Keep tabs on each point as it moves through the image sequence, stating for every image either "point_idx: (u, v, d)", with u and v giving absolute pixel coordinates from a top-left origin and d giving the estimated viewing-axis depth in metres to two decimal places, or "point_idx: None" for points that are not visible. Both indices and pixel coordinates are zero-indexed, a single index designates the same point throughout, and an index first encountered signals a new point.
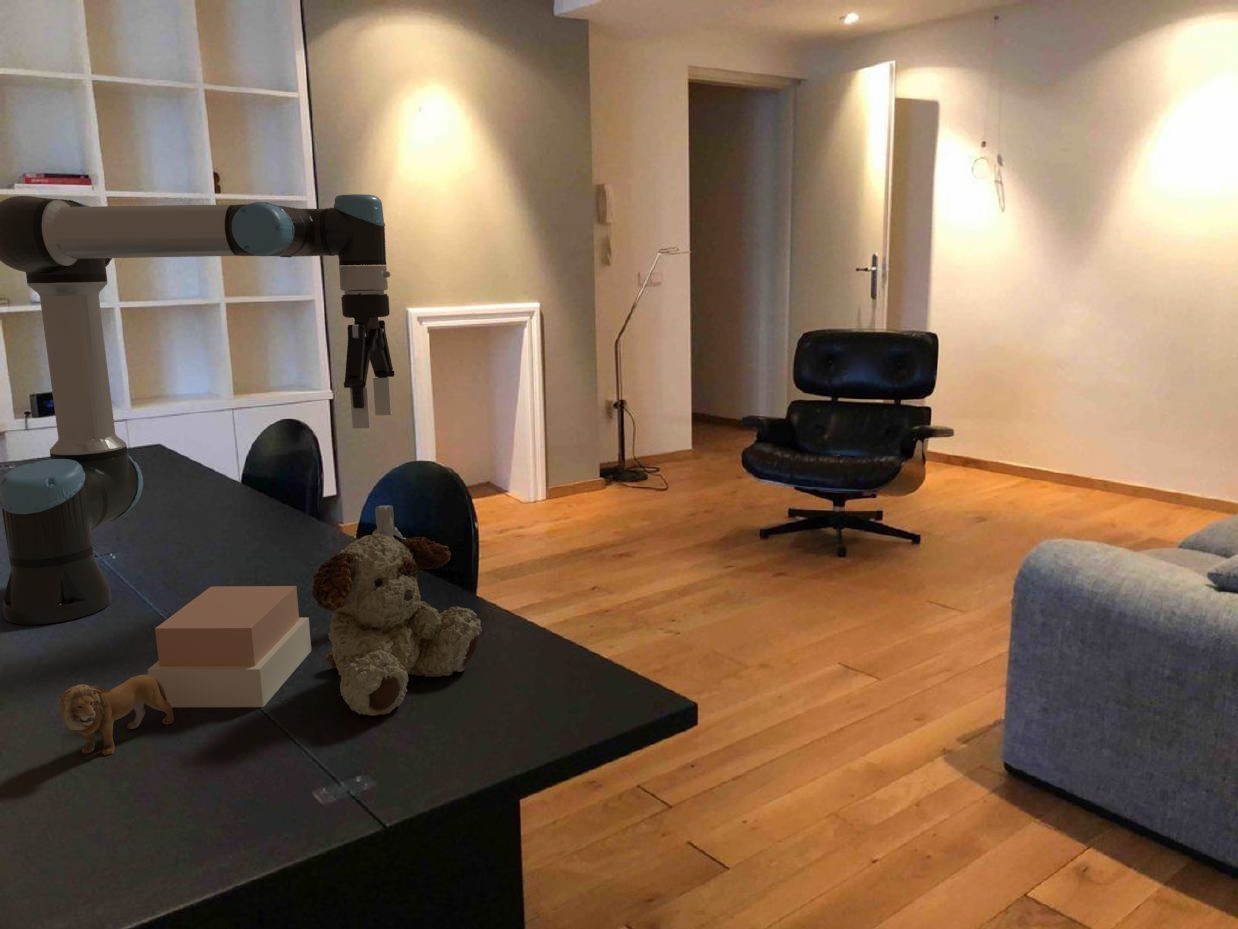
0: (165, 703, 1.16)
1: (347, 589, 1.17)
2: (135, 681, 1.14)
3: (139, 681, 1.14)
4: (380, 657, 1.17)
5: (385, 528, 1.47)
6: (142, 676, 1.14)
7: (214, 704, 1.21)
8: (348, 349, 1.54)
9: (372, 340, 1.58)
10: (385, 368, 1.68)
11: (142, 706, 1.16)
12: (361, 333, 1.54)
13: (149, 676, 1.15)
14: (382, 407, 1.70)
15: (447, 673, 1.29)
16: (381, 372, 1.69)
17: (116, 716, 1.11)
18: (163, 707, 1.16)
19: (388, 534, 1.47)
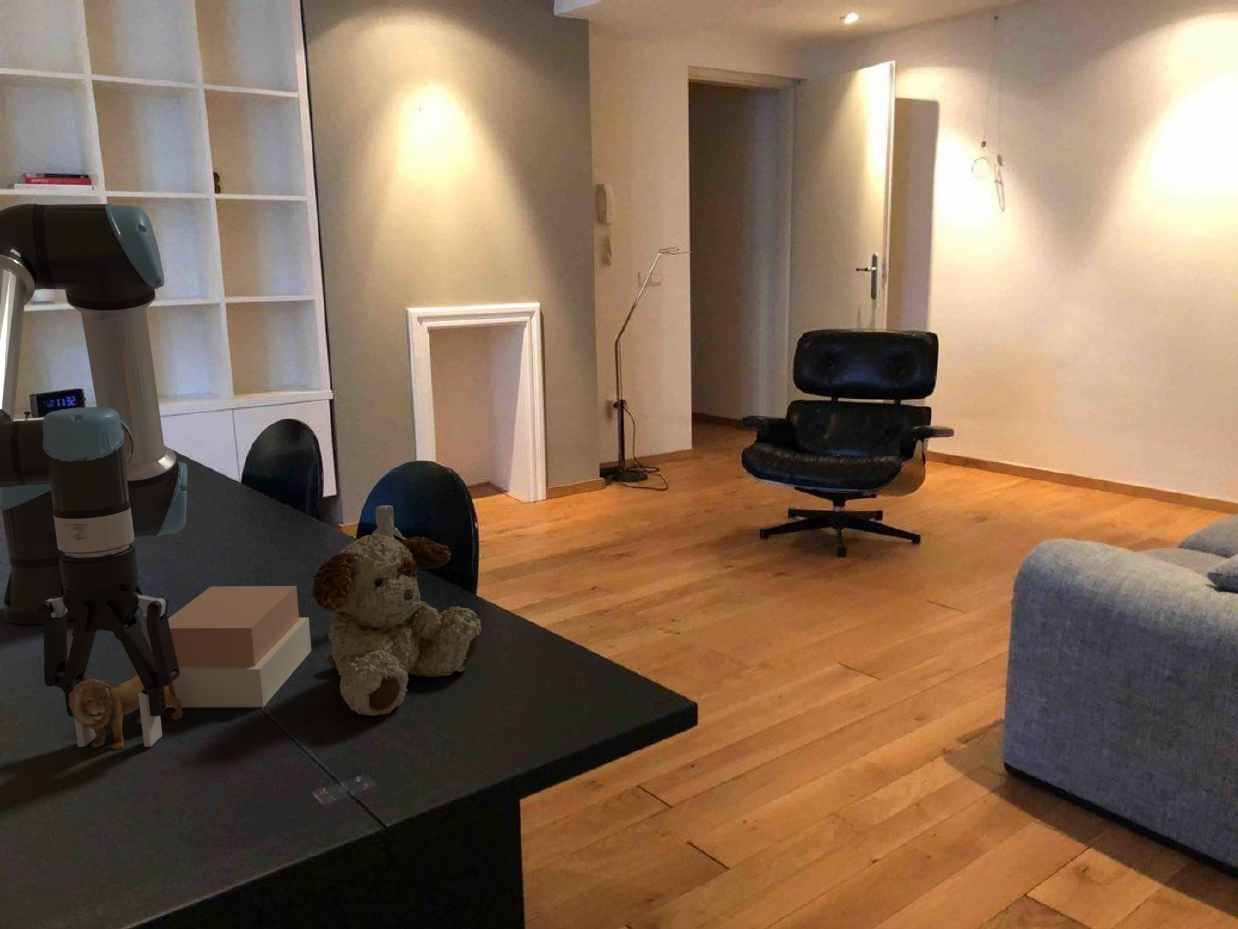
0: (174, 698, 1.18)
1: (347, 589, 1.17)
2: None
3: None
4: (380, 657, 1.17)
5: (386, 528, 1.47)
6: None
7: (214, 704, 1.21)
8: None
9: None
10: (138, 673, 1.10)
11: None
12: None
13: None
14: None
15: (447, 673, 1.29)
16: None
17: (125, 711, 1.12)
18: (172, 702, 1.17)
19: (388, 534, 1.48)
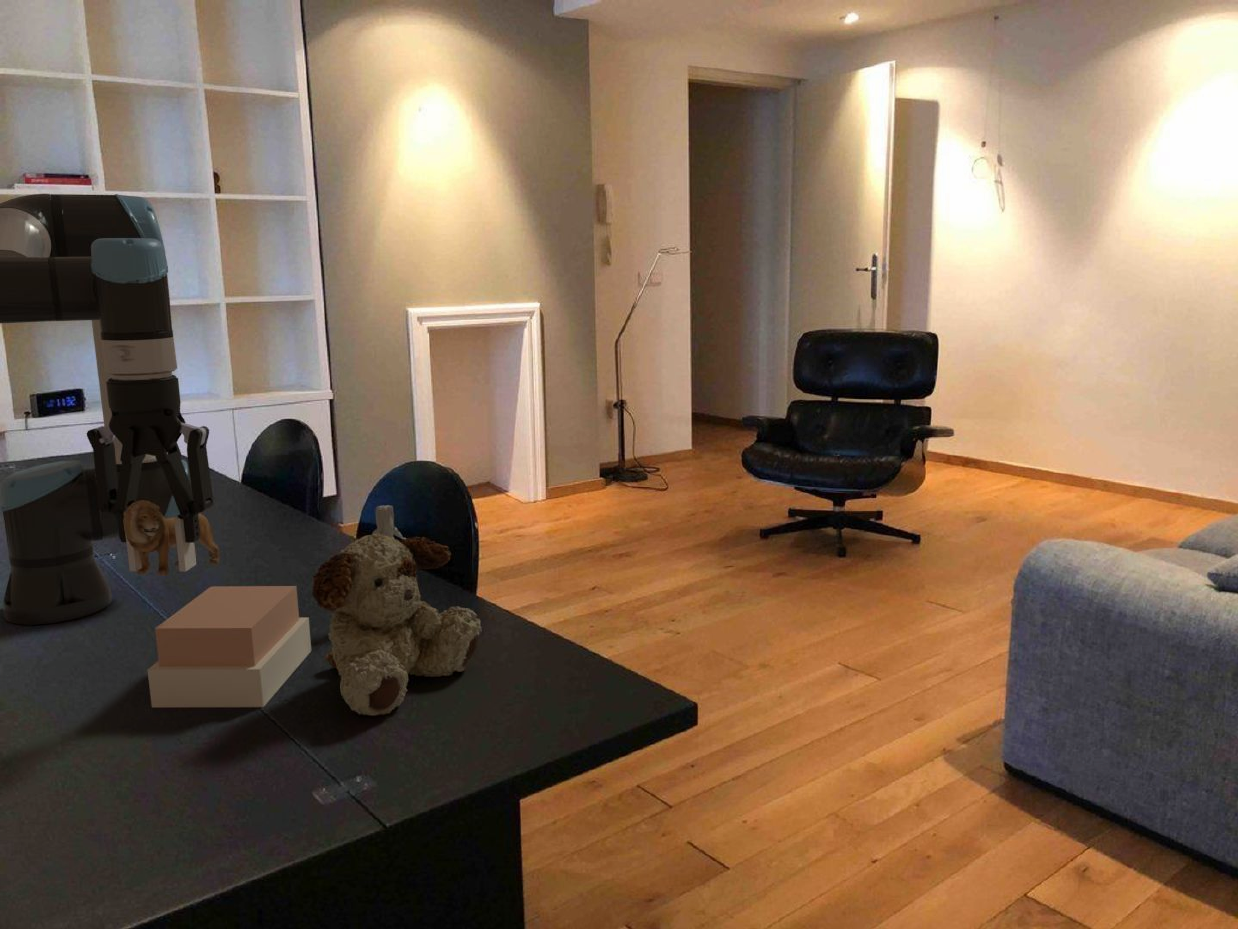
0: (213, 542, 1.23)
1: (347, 589, 1.17)
2: None
3: None
4: (380, 657, 1.17)
5: (385, 528, 1.47)
6: None
7: (214, 704, 1.21)
8: None
9: (123, 447, 1.13)
10: (175, 499, 1.14)
11: None
12: None
13: (200, 514, 1.22)
14: None
15: (447, 673, 1.29)
16: None
17: (171, 541, 1.17)
18: (212, 546, 1.22)
19: (388, 534, 1.48)
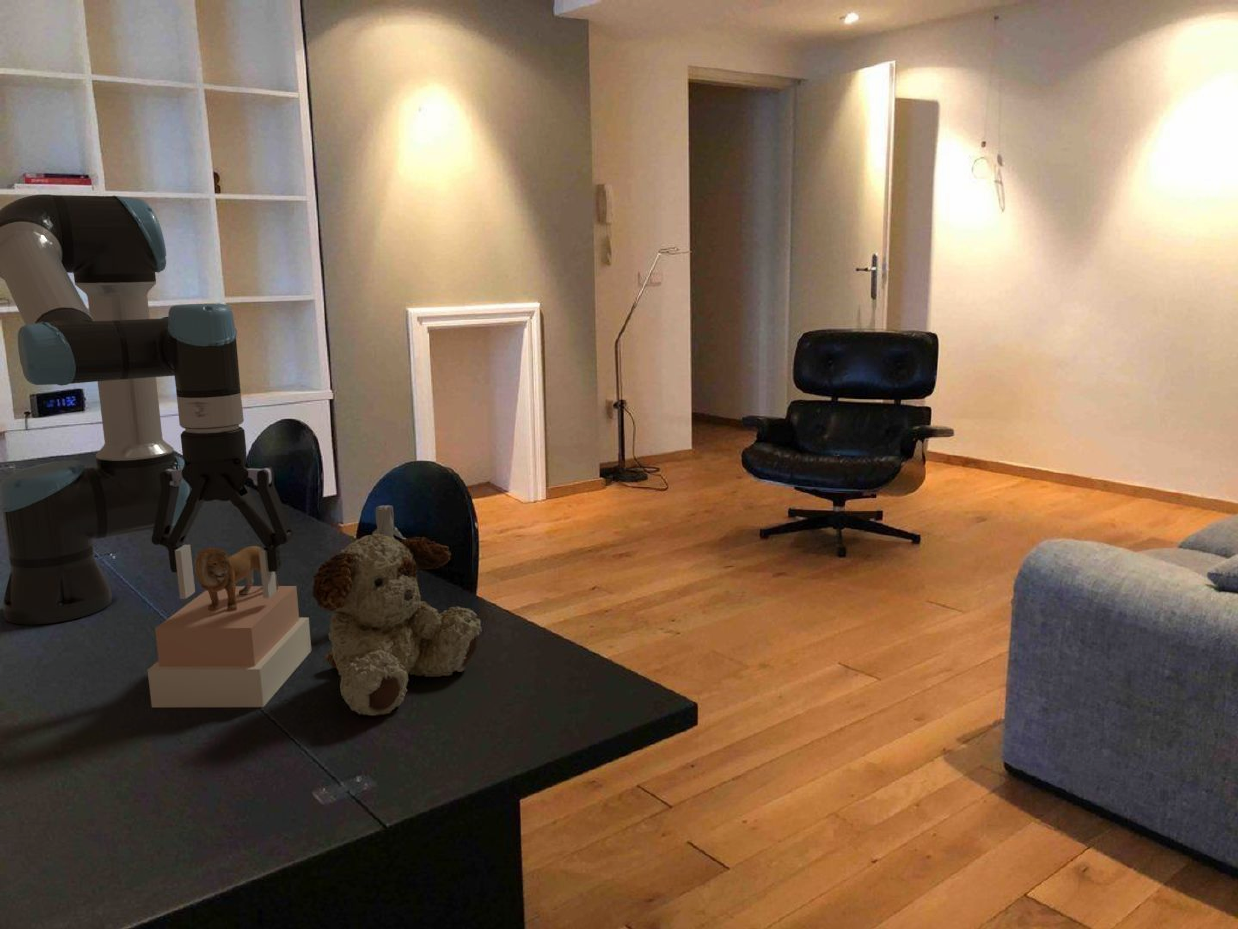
0: None
1: (347, 589, 1.17)
2: (249, 550, 1.30)
3: (252, 550, 1.30)
4: (380, 657, 1.17)
5: (385, 528, 1.47)
6: (254, 547, 1.31)
7: (214, 704, 1.21)
8: None
9: None
10: (257, 534, 1.25)
11: (251, 574, 1.33)
12: None
13: (259, 547, 1.32)
14: None
15: (447, 673, 1.29)
16: None
17: (237, 578, 1.28)
18: None
19: (388, 534, 1.48)
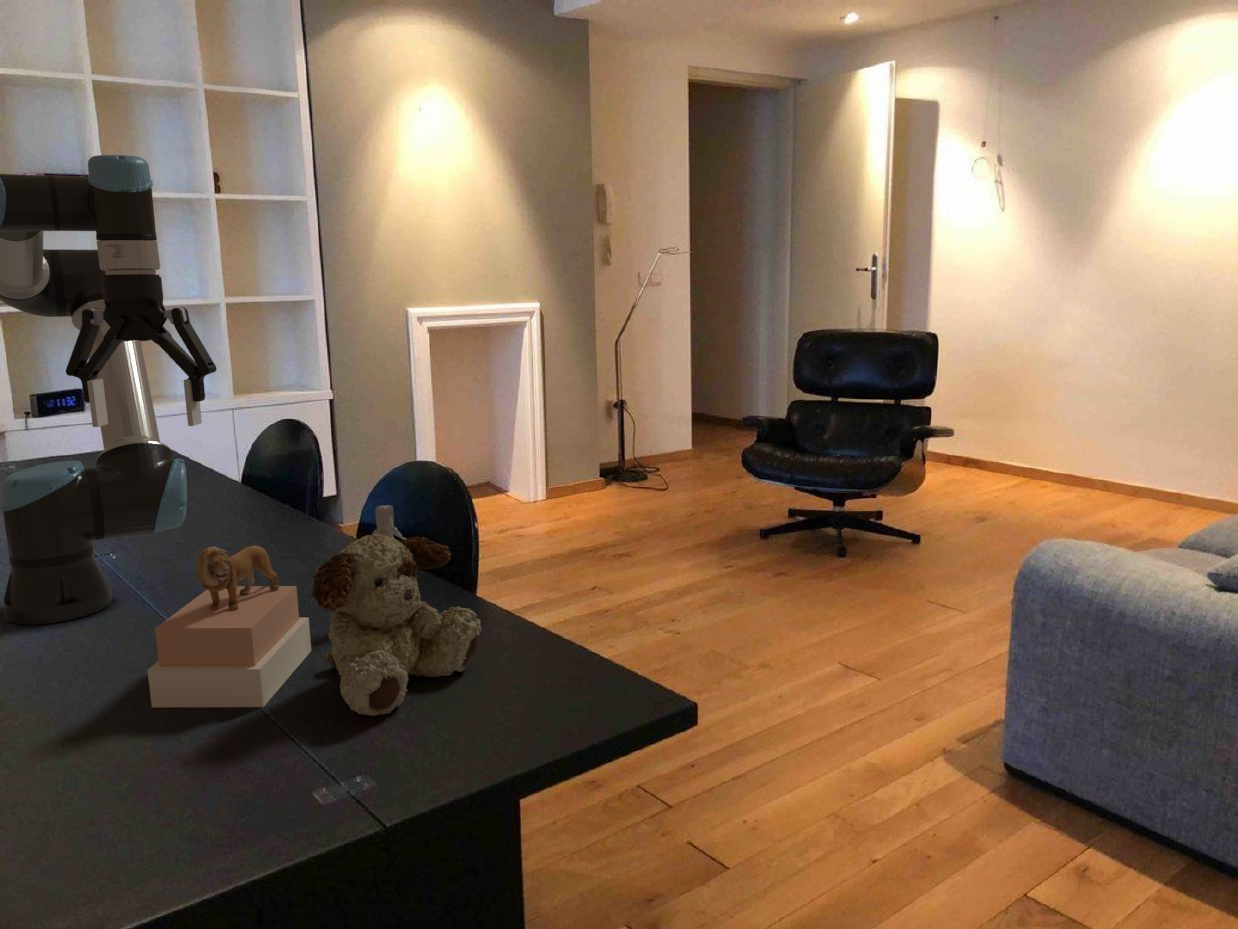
0: (272, 571, 1.33)
1: (347, 589, 1.17)
2: (250, 550, 1.30)
3: (253, 550, 1.30)
4: (380, 657, 1.17)
5: (385, 528, 1.47)
6: (255, 546, 1.31)
7: (214, 704, 1.21)
8: None
9: (110, 329, 1.35)
10: (180, 367, 1.36)
11: (252, 574, 1.33)
12: None
13: (259, 547, 1.32)
14: None
15: (447, 673, 1.29)
16: None
17: (238, 578, 1.28)
18: (272, 574, 1.33)
19: (388, 534, 1.47)
